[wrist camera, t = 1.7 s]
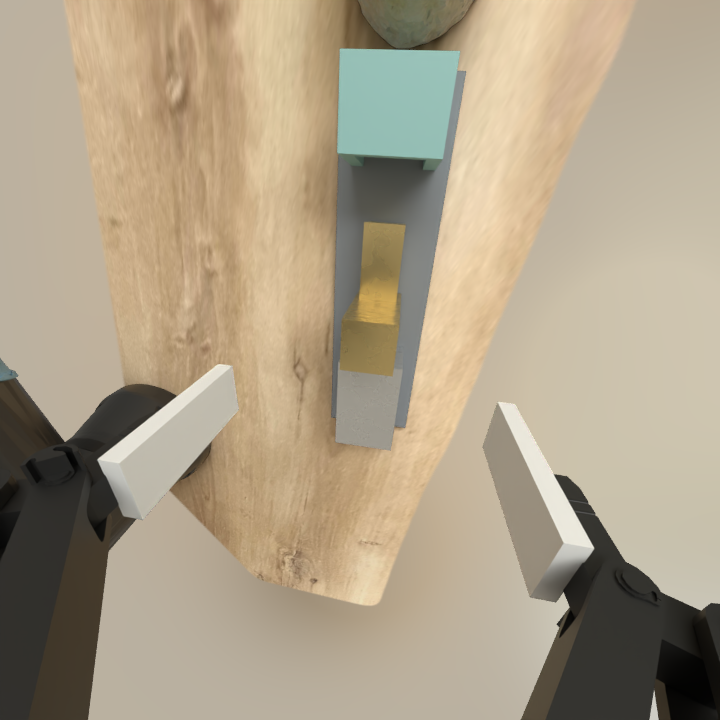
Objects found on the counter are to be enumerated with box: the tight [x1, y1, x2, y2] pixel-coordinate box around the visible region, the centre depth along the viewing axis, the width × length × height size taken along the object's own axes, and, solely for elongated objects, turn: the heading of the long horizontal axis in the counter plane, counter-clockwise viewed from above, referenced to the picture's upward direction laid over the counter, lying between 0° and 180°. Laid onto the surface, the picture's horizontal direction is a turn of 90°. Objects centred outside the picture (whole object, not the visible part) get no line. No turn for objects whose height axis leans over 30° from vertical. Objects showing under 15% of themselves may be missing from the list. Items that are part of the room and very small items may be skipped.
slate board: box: [331, 71, 466, 428], centre depth 29 cm, size 9×32×1 cm, turn 176°
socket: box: [337, 49, 460, 171], centre depth 20 cm, size 7×5×6 cm
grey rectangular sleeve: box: [335, 346, 403, 451], centre depth 31 cm, size 6×10×5 cm, turn 176°
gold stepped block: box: [340, 221, 406, 377], centre depth 26 cm, size 4×20×9 cm, turn 176°
